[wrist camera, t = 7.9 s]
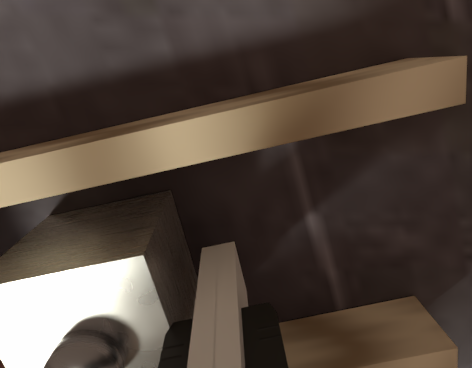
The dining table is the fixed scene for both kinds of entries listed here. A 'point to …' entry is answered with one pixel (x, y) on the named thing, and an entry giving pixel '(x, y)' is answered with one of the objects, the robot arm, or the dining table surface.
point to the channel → (260, 137)
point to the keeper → (97, 287)
